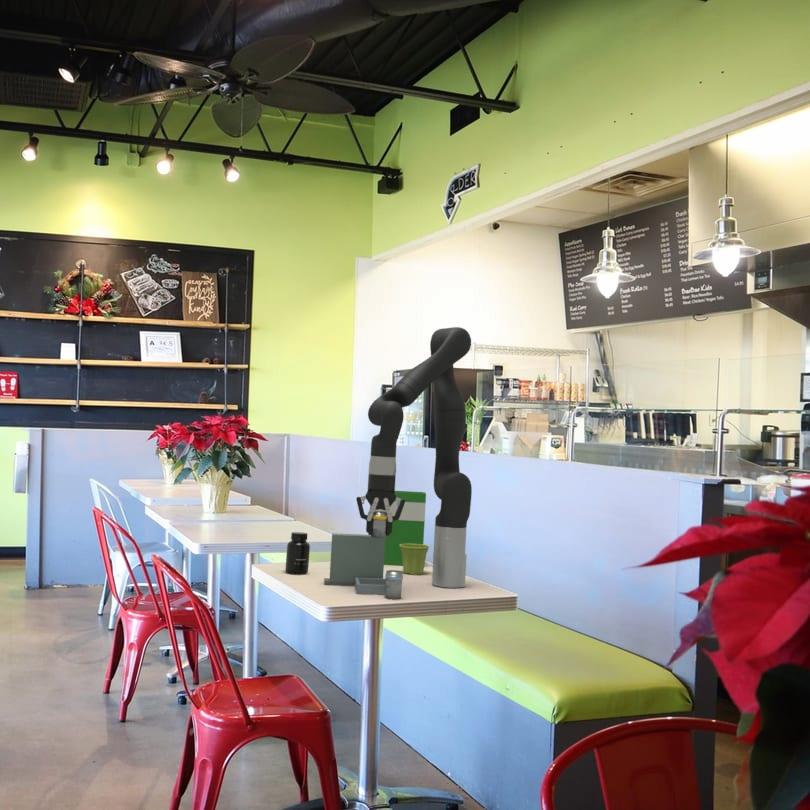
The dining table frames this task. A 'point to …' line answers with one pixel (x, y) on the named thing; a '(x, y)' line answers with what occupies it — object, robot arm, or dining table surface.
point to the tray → (370, 586)
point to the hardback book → (405, 526)
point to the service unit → (355, 558)
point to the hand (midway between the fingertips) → (378, 534)
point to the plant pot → (413, 558)
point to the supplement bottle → (297, 554)
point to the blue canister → (393, 584)
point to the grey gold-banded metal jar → (379, 524)
